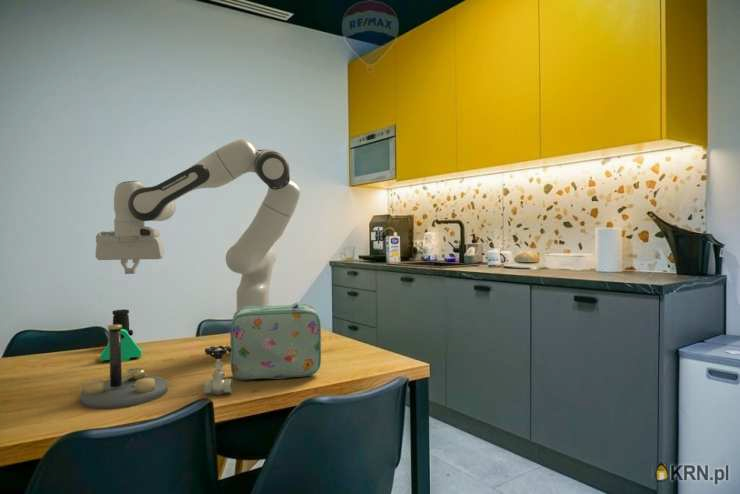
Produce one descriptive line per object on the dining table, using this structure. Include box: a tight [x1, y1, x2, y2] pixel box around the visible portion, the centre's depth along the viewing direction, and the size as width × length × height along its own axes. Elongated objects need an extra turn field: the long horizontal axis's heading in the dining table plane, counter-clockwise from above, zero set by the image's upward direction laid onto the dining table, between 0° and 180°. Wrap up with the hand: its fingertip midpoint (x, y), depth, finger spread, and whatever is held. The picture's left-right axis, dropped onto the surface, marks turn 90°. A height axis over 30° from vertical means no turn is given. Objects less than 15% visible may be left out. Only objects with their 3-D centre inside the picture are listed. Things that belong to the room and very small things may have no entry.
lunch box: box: [229, 301, 323, 381], centre depth 139 cm, size 27×10×21 cm, turn 102°
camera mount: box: [99, 329, 143, 362], centre depth 160 cm, size 12×8×10 cm, turn 115°
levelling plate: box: [80, 375, 169, 410], centre depth 123 cm, size 20×20×4 cm
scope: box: [106, 309, 134, 346], centre depth 175 cm, size 8×14×10 cm
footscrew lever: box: [107, 324, 146, 387], centre depth 126 cm, size 12×4×16 cm, turn 171°
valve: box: [203, 345, 234, 396], centre depth 122 cm, size 7×7×12 cm
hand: (130, 273), depth 155 cm, fingers closed
